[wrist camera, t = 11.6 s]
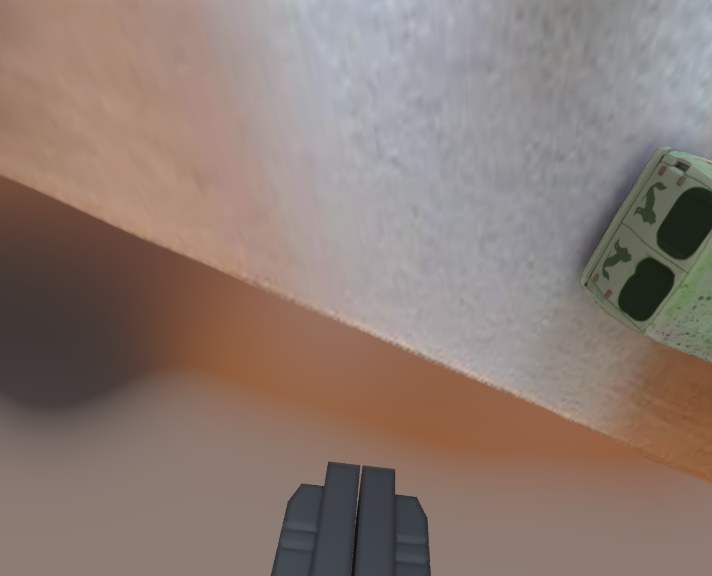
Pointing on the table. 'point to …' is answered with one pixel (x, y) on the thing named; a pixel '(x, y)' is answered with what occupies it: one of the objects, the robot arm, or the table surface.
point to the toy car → (661, 255)
